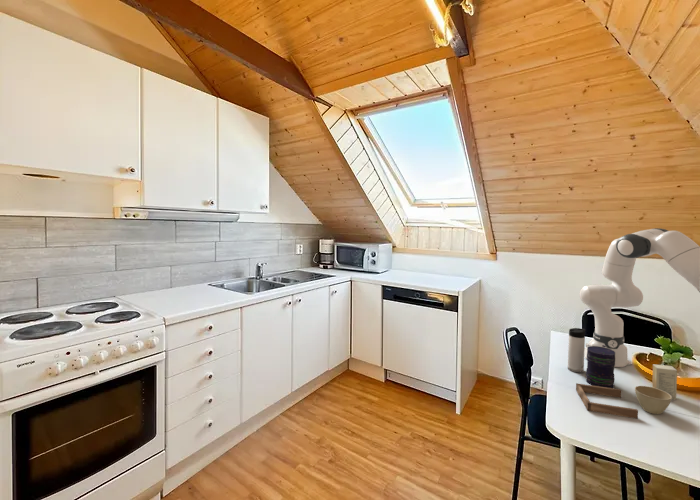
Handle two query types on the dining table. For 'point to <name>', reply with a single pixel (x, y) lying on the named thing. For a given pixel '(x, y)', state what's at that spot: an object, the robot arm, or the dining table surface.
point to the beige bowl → (652, 399)
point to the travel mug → (576, 350)
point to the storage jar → (600, 366)
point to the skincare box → (665, 379)
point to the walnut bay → (603, 407)
